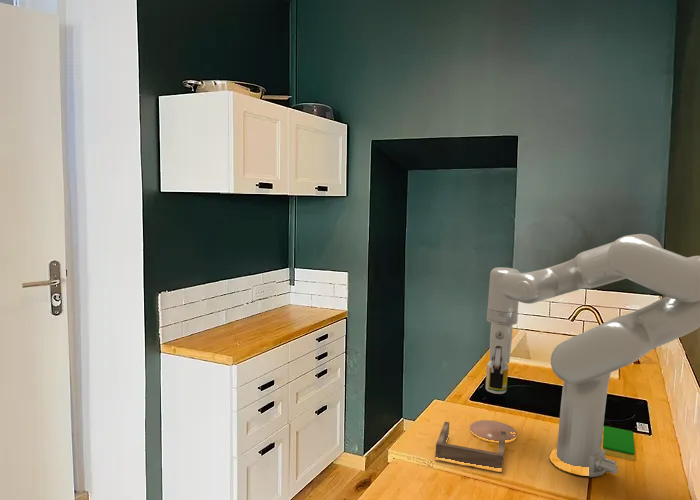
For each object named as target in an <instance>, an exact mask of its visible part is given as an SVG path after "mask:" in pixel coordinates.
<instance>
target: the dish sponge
mask: <svg viewBox="0 0 700 500" xmlns="http://www.w3.org/2000/svg"><path fill="white" fill-rule="evenodd" d="M634 437H635V436H634V431H632V430H627V429H623V428H617V427H612V426H608V425H603V434H602V445H601V449H603V450H605V456H606V455H607V456H610V457H614V458H619V459H623V460H629V461H635V455H636V449H635V448H636V447H635V438H634Z"/></svg>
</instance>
